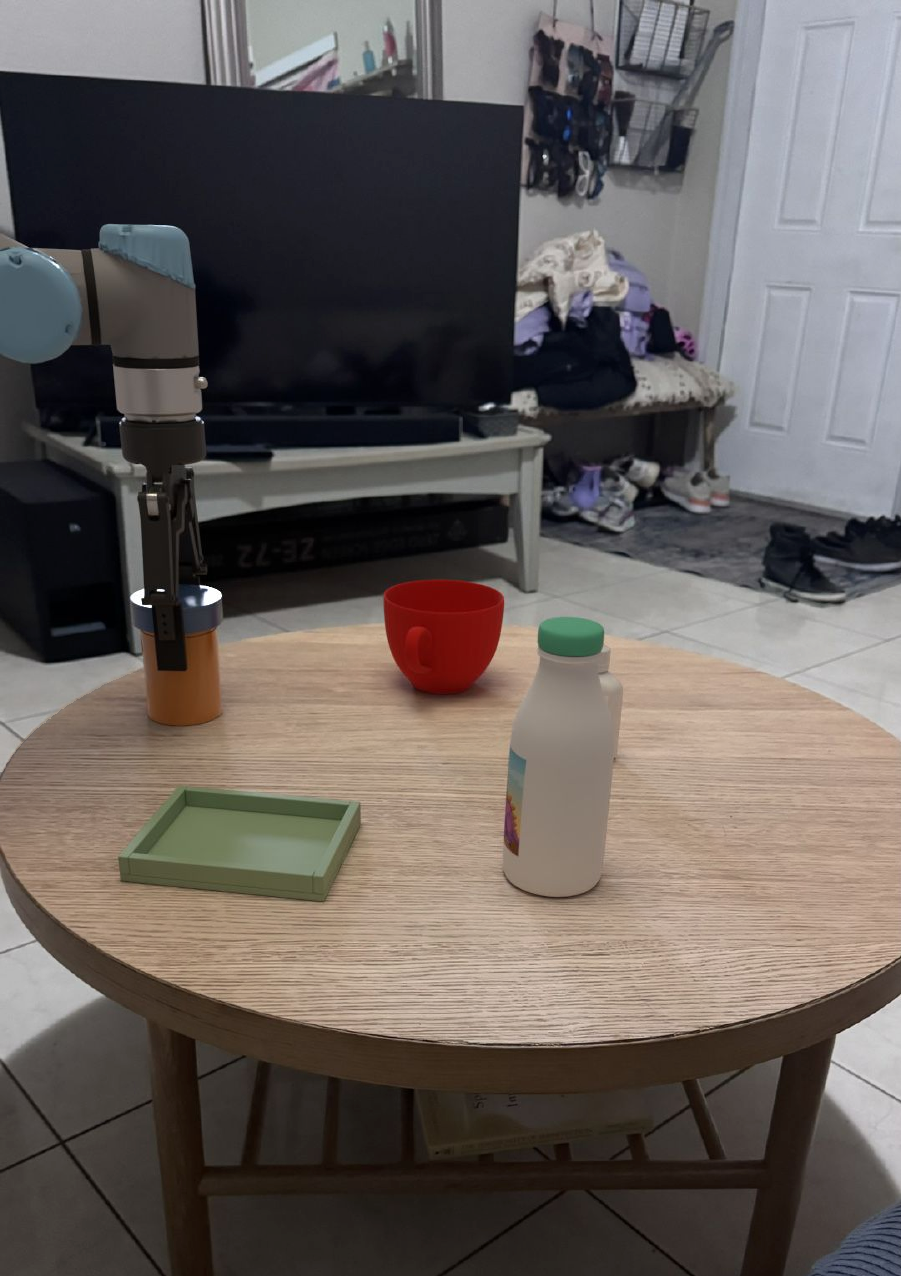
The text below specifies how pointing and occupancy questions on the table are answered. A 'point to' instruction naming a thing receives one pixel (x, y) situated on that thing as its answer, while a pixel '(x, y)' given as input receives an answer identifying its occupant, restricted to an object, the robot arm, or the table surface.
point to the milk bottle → (560, 766)
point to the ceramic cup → (443, 632)
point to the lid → (184, 609)
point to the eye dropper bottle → (611, 692)
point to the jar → (184, 682)
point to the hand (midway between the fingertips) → (182, 653)
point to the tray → (243, 843)
